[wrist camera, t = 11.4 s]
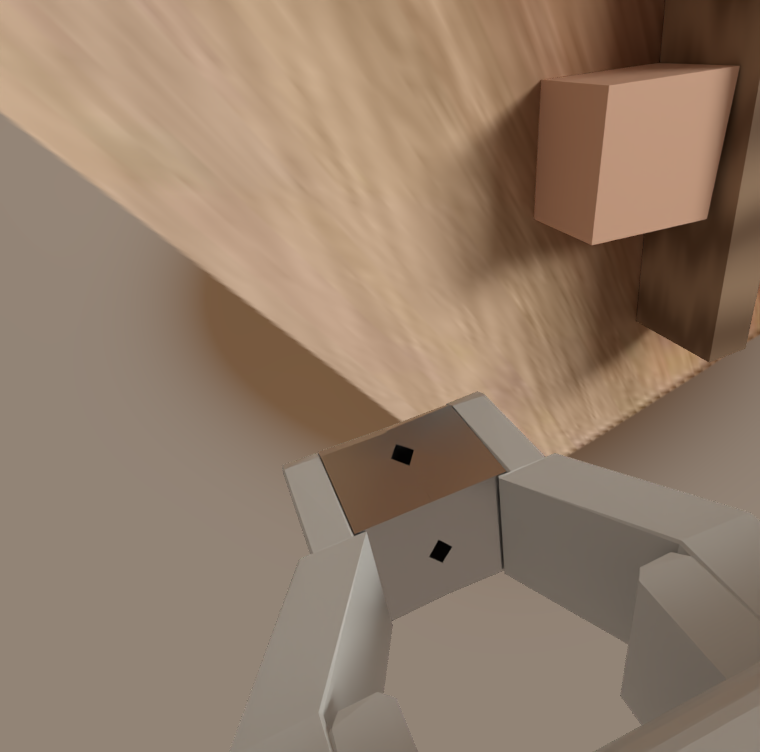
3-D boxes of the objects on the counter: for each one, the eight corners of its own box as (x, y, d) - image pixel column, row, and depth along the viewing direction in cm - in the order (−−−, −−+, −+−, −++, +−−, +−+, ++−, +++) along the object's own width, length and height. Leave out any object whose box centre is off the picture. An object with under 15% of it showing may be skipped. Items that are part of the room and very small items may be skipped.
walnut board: (685, -222, 27) (826, -294, 22) (736, -229, 28) (886, -301, 22) (636, 321, 44) (708, 362, 38) (668, 309, 44) (745, 348, 38)
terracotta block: (539, 79, 32) (609, 85, 27) (655, 62, 34) (740, 65, 29) (532, 218, 36) (591, 245, 32) (636, 197, 38) (707, 218, 33)
